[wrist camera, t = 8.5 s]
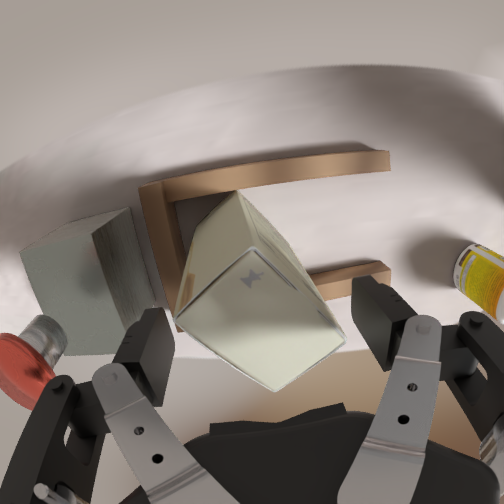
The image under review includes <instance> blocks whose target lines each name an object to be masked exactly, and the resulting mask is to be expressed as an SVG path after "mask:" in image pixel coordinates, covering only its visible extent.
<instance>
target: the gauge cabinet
mask: <svg viewBox="0 0 504 504" xmlns="http://www.w3.org/2000/svg"><path fill="white" fill-rule="evenodd" d="M19 253H20V256H21V259H22V262H23V264H24V267H25V270H26V273H27V275H28V278H29V281H30V283H31V286H32V288H33V291H34V293H35V296H36V298H37V300H38V303H39V305H40V307H41V310H42V312H43V314H44V315H46V316H49V317H51V318H52V319H54V320H55V321H56V322H58V323H59V325H60V326H61V327H62V328H63V330H64V331H65V333H66V336H67V340H68V345H67V347H66V349H65V351H64V352H63V354H64V355H65V356H70V355H71V356H76V355H103V354H116V353H117V350H118V348H119V346H120V344H121V342H122V340H123V338H124V336H125V334H126V332H127V330H128V328H129V327H130V326H131V325H132V324H133V323H135V322H136V321H140V318H141V316H142V314H143V312H144V310H145V309H150V308H153V305H154V303H155V297H154V294H153V291H152V287H151V284H150V281H149V278H148V274H147V271H146V268H145V264H144V261H143V257H142V254H141V250H140V247H139V243H138V239H137V235H136V231H135V228H134V224H133V220H132V215H131V211H130V207H128V208H124V209H119V210H115V211H111V212H107V213H103V214H99V215H95V216H91V217H88V218H84V219H80V220H76V221H73V222H69V223H67V224H65V225H63V226H61V227H60V228H58V229H56V230H54V231H53V232H51V233H49V234H48V235H46V236H44V237H43V238H41V239H40V240H38V241H36V242H35V243H33V244H32V245H30V246H28V247H27V248H25V249H24V250H22V251H21V252H19Z"/></svg>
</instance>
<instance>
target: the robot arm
mask: <svg viewBox="0 0 504 504" xmlns="http://www.w3.org/2000/svg"><path fill="white" fill-rule="evenodd" d="M351 314H352V318H353V321H354V323H355V325H356V327H357V328H358V330H359V331H360V333H361V335H362V336H363V338H364V340H365V341H366V343H367V344H368V346H369V348H370V349H371V351H372V353H373V354H374V356H375V358H376V359H377V361H378V363H379V364H380V366H381V368H382V370H383V371H384V372H386V371H389V370H391V373H390V375H389V378H388V382H387V384H386V387H385V390H384V393H383V396H382V399H381V401H380V404H379V407H378V409H377V412H376V414H375V415H374V414H370V413H366V412H360V411H346V409H345V407H344V404H343V403H339V404H334V405H330V406H326V407H322V408H317V409H313V410H309V411H307V412H304V413H302V414H300V415H297V416H295V417H292V418H290V419H287V420H284V421H282V422H278V423H268V422H252V421H234V422H224V423H210V431H209V433H207V434H204V435H201V436H199V437H197V438H194V439H192V440H190V441H189V442H187V443H186V444H184V445H182V443H181V442H180V441H179V440H178V439H177V437H176V436H175V435H174V434H173V432H172V431H171V430H170V429H169V427H168V426H167V425H166V424H165V422H164V421H163V419H162V418H161V417H160V415H159V414H158V413H157V411H156V410H155V409H154V407H162V405H163V400H164V395H165V391H166V386H167V382H168V377H169V373H170V369H171V364H172V359H173V356H174V352H175V342H174V337H173V334H172V331H171V328H170V325H169V322H168V319H167V316H166V313H165V311H164V309H163V308H162V307H159V308H150V309H145V310H144V312H143V314H142V316H141V318H140V321H136V322H135V323H133V324H132V325H131V326H130V327H129V328H128V330H127V332H126V334H125V336H124V338H123V340H122V342H121V344H120V346H119V348H118V350H117V353H116V355H115V357H114V359H113V361H112V363H111V364H107V365H104V366H102V367H101V368H99V369H98V370H97V371H96V372H95V373H94V375H93V377H92V381H88V382H84V383H80V384H75V382H74V381H73V379H72V378H71V377H70V376H68V375H59V376H56V377H54V378H53V379H51V380H50V381H49V382H48V383H47V384H46V385H45V387H44V389H43V391H42V393H41V395H40V397H39V399H38V401H37V403H36V405H35V407H34V409H33V411H32V413H31V415H30V417H29V419H28V421H27V424H26V426H25V428H24V430H23V432H22V435H21V437H20V439H19V441H18V444H17V446H16V449H15V451H14V453H13V456H12V458H11V461H10V463H9V466H8V469H7V472H6V474H5V477H4V480H3V482H2V485H1V488H0V504H90V502H91V497H92V492H93V487H94V482H95V477H96V473H97V468H98V463H99V459H100V455H101V451H102V446H103V443H104V439H105V435H106V433H112V435H113V437H114V439H115V441H116V443H117V444H118V446H119V448H120V450H121V452H122V454H123V455H124V457H125V459H126V461H127V463H128V464H129V466H130V468H131V469H132V471H133V473H134V474H135V476H136V478H137V479H138V481H139V483H140V484H141V485H140V486H139V487H138V488H136V489H135V490H134V491H133V492H132V493H131V494H130V495H129V496H127V497H126V498H125V499H124V500H123V501H122V502H120V503H119V504H499V501H500V496H502V495H504V332H503V331H502V330H501V329H500V328H499V327H498V326H497V325H495V323H494V322H493V321H491V319H489V318H488V317H487V316H486V315H484V314H482V313H480V312H476V311H469V312H465V313H463V314H462V315H461V317H460V320H459V324H458V325H447V326H441V324H440V322H439V321H438V320H437V319H435V318H434V317H431V316H428V315H418V314H417V313H416V312H415V311H414V310H413V309H412V308H411V307H410V306H409V305H408V304H407V302H406V301H405V300H403V298H402V297H401V296H400V295H398V293H397V292H396V291H395V290H394V289H393V288H392V287H390V286H388V285H386V284H383V283H380V284H379V283H378V282H377V281H376V280H375V279H374V278H373V277H372V276H371V275H370V274H368V275H363V276H358V277H354V278H353V279H352V293H351ZM478 363H480V364H481V365H482V366H483V368H484V369H485V370H486V372H487V376H488V379H487V380H486V378H485V377H484V376H483V375H482V373H481V372H480V370H479V369H478V368H477V365H478ZM444 380H445V382H446V383H447V385H448V386H449V388H450V390H451V391H452V393H453V395H454V396H455V398H456V399H457V401H458V403H459V404H460V406H461V408H462V409H463V411H464V413H465V414H466V416H467V418H468V419H469V421H470V423H471V424H472V426H473V428H474V430H475V432H476V433H477V435H478V437H479V439H480V440H481V442H482V443H481V445H480V449H479V453H480V458H481V459H480V460H478V459H475V458H473V457H470V456H467V455H465V454H462V453H459V452H457V451H455V450H452V449H450V448H447V447H445V446H443V445H440V444H438V443H436V442H433V441H431V440H429V439H428V436H429V432H430V427H431V423H432V418H433V413H434V408H435V403H436V397H437V391H438V385H439V381H444ZM67 426H69V427H70V428H71V432H70V435H69V438H68V441H67V444H66V447H65V444H64V435H65V432H66V429H67Z"/></svg>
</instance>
